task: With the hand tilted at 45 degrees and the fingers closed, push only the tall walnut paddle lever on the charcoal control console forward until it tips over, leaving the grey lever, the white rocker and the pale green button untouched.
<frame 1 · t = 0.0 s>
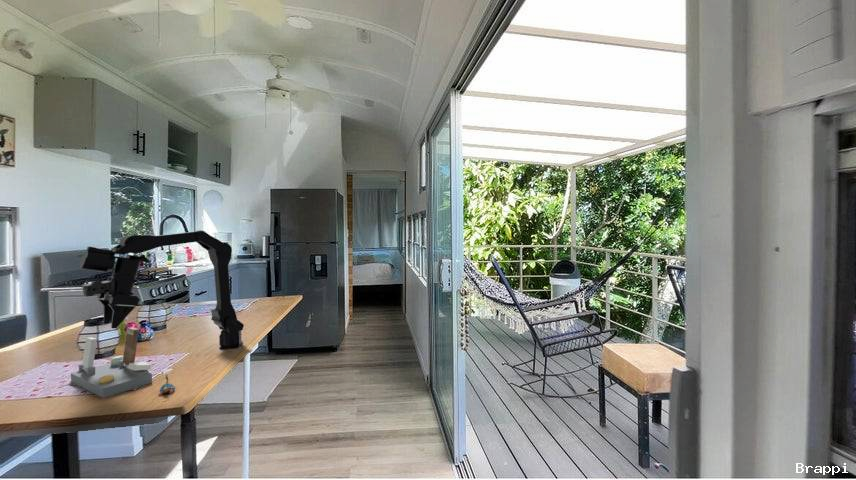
hand: (109, 325, 105), 15 cm above the table, tool pointing down, fingers open, 9 cm apart
bomb figurine: (166, 394, 95), on the table
lever grey: (89, 353, 103), point 8 cm above the table, hinge at -8.0°
console: (111, 381, 102), on the table
rocker: (139, 366, 102), point 4 cm above the table, hinge at -15.0°
button: (117, 360, 109), point 4 cm above the table, slide at 0.0 cm, touching console
paddle walnut: (130, 346, 106), point 9 cm above the table, hinge at -8.0°
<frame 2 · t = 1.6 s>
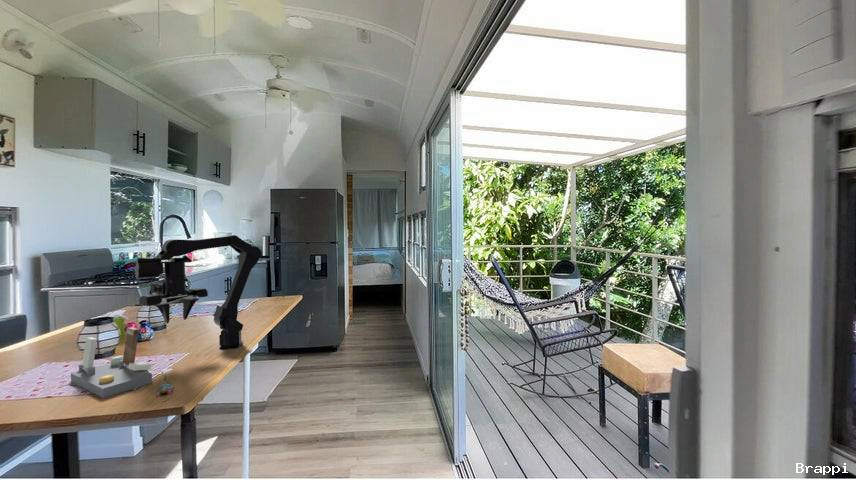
hand: (176, 321, 120), 13 cm above the table, tool pointing down, fingers open, 5 cm apart
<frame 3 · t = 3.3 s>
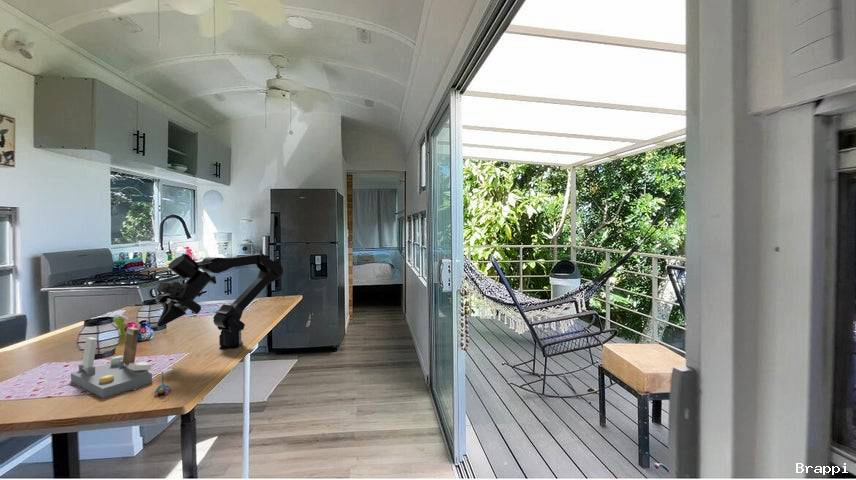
hand: (158, 326, 112), 13 cm above the table, tool tilted 45°, fingers closed
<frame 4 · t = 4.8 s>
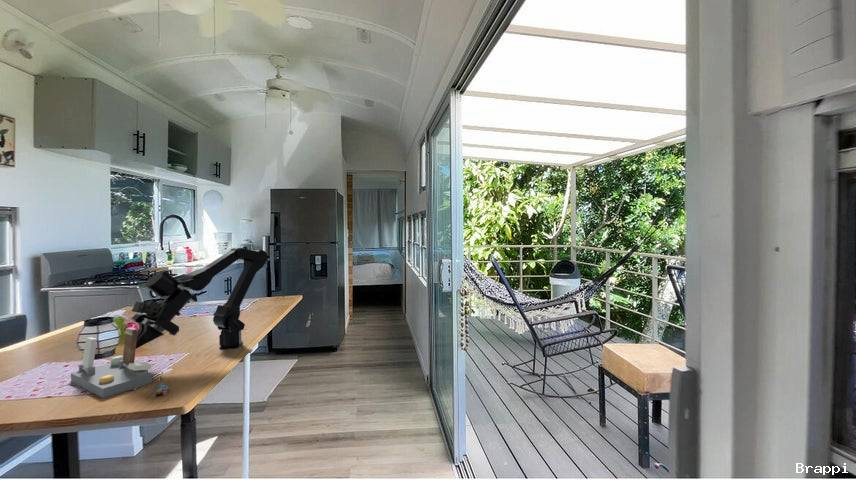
hand: (132, 348, 106), 8 cm above the table, tool tilted 45°, fingers closed, pressing on paddle walnut
paddle walnut: (129, 346, 106), point 9 cm above the table, hinge at -6.0°, touching gripper
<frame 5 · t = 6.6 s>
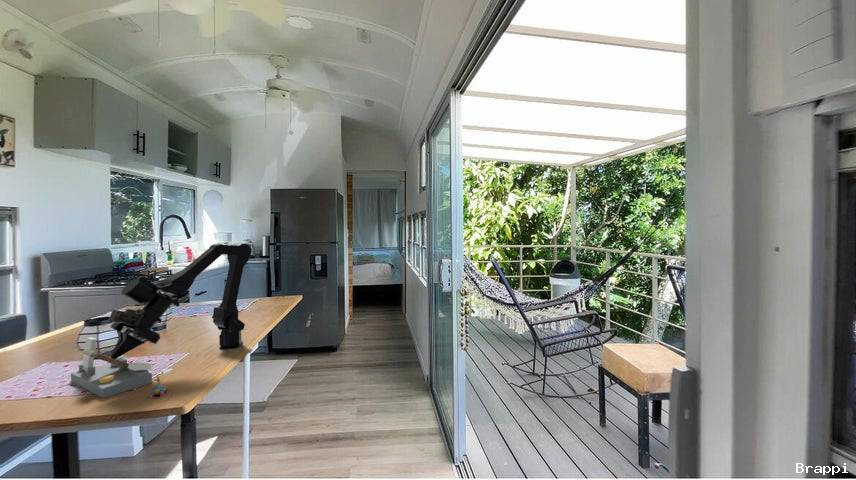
hand: (112, 358, 102), 7 cm above the table, tool tilted 40°, fingers closed, pressing on paddle walnut
paddle walnut: (108, 359, 101), point 7 cm above the table, hinge at 52.4°, touching gripper
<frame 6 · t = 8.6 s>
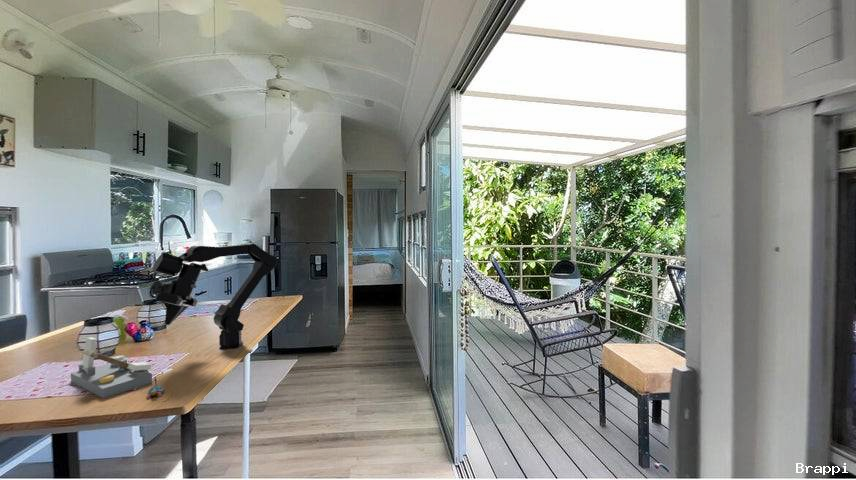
hand: (167, 324, 117), 13 cm above the table, tool tilted 25°, fingers closed
paddle walnut: (108, 359, 101), point 7 cm above the table, hinge at 52.5°
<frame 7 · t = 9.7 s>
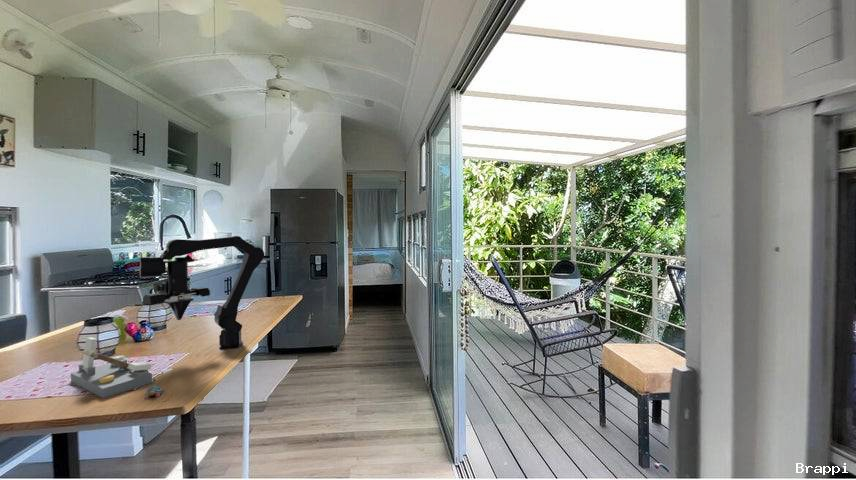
hand: (179, 319, 122), 13 cm above the table, tool pointing down, fingers closed
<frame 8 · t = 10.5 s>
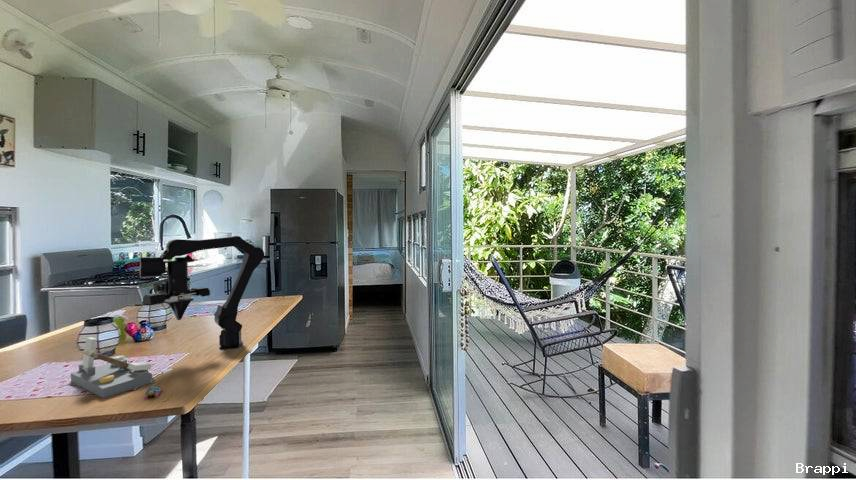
hand: (179, 319, 122), 13 cm above the table, tool pointing down, fingers closed
at the end: paddle walnut at +52° (first picture: -8°); lever grey at -8° (first picture: -8°); rocker at -15° (first picture: -15°) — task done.
